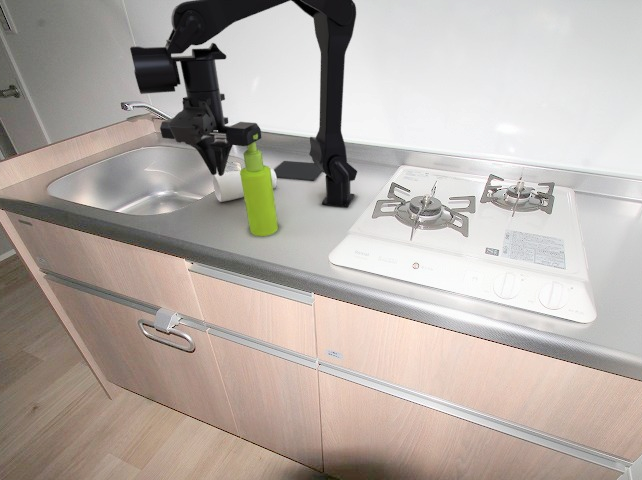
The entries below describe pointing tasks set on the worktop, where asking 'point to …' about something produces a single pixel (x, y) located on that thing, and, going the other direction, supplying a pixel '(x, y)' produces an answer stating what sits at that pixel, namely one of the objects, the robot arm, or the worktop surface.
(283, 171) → the drying mat
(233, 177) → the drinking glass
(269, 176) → the soap dispenser
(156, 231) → the worktop surface
